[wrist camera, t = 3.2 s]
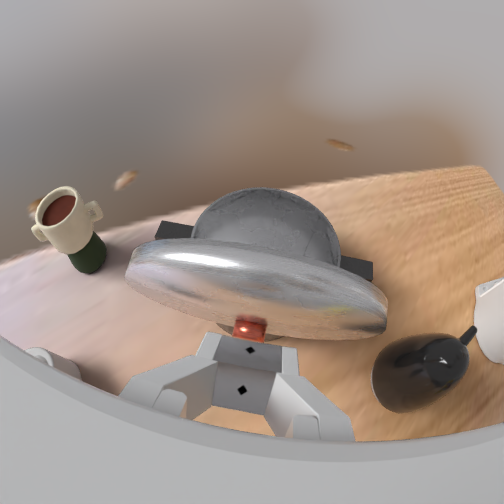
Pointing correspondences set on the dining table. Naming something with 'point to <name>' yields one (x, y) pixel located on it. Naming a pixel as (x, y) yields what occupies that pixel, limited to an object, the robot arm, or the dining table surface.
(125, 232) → the dining table surface
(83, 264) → the character mug
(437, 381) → the pump dispenser
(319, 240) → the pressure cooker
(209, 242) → the pressure cooker lid
